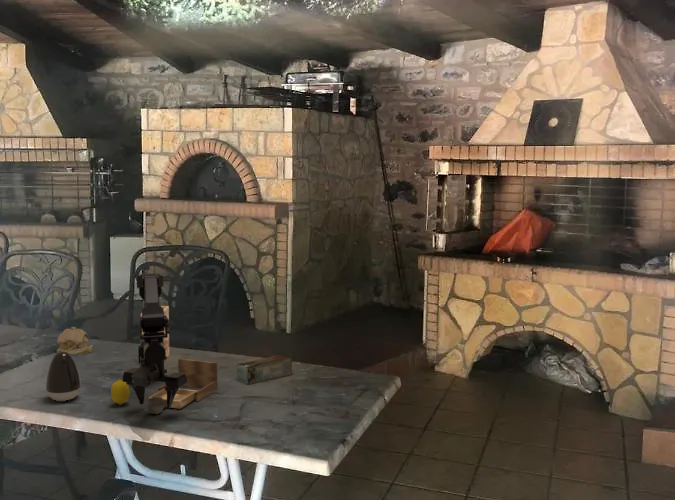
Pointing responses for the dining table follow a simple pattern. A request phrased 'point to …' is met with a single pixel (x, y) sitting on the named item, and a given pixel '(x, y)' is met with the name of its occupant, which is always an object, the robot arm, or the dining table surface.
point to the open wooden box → (198, 376)
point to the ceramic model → (74, 341)
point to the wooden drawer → (180, 400)
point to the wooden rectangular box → (264, 369)
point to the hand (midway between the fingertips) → (155, 405)
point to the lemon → (120, 392)
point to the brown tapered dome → (63, 377)
